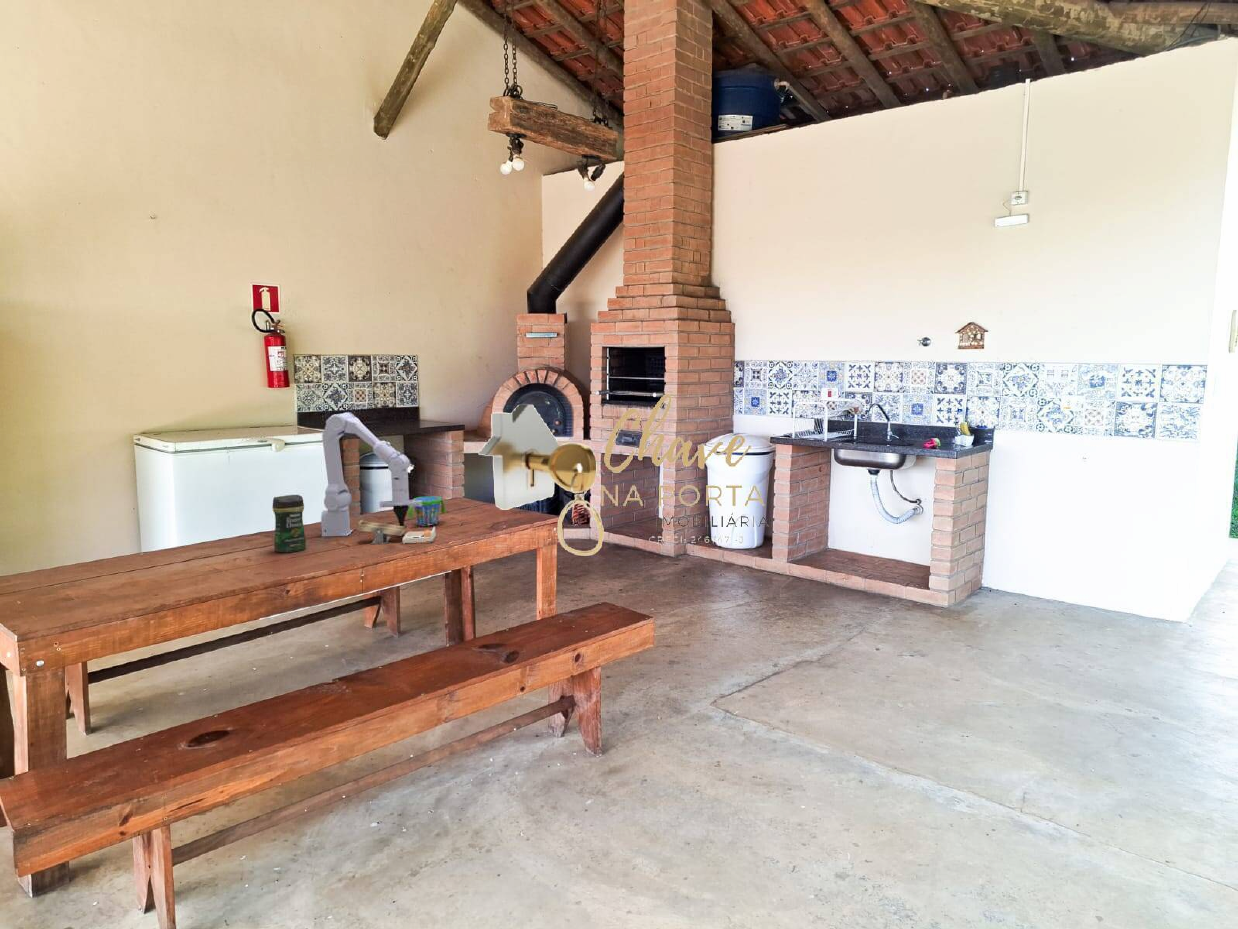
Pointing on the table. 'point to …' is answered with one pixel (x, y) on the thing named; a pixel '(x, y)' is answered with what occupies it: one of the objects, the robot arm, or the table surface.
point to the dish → (409, 536)
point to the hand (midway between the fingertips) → (401, 526)
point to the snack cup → (427, 510)
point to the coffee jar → (289, 523)
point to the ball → (427, 533)
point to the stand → (380, 537)
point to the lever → (386, 528)
